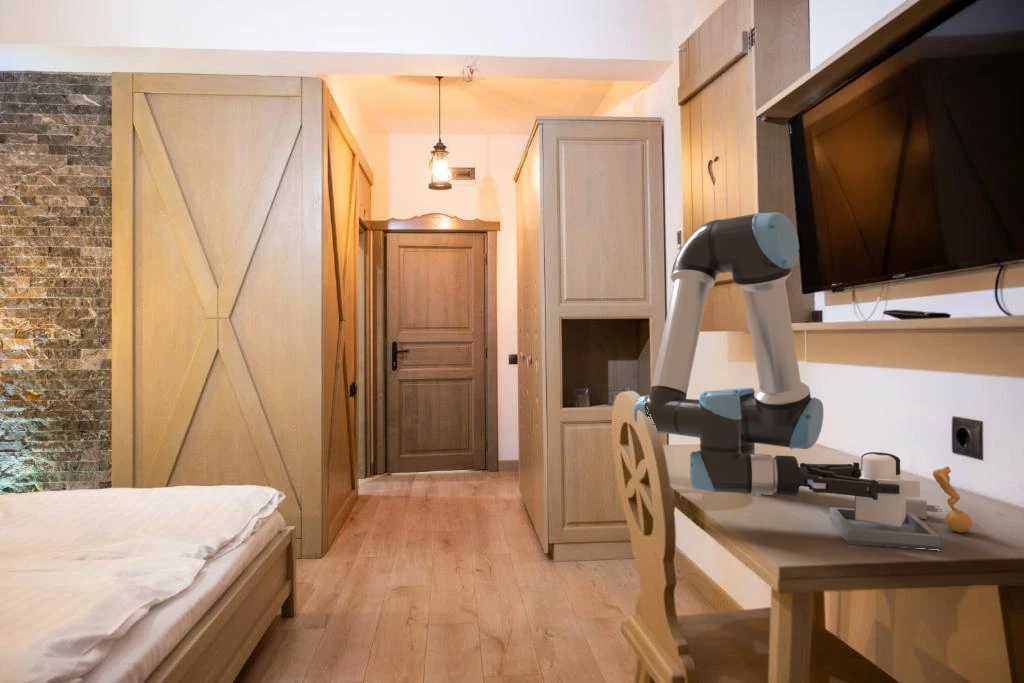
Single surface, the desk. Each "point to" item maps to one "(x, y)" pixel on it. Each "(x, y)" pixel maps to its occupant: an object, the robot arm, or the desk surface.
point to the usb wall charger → (919, 507)
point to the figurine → (952, 503)
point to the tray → (884, 531)
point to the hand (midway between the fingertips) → (908, 482)
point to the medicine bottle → (885, 507)
